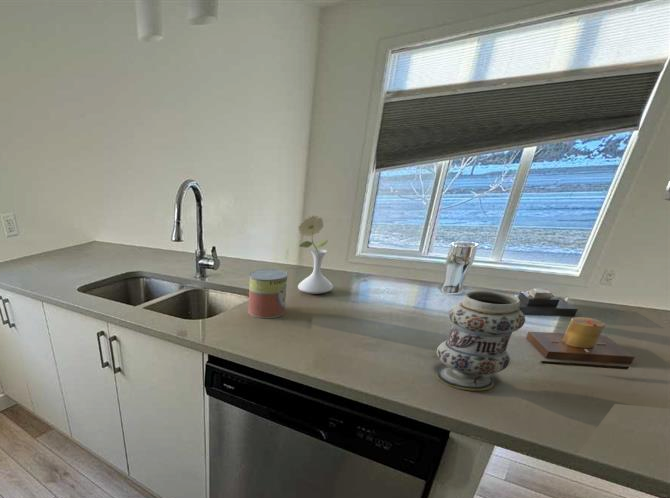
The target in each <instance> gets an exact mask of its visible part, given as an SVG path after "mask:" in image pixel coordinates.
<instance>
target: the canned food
mask: <svg viewBox="0 0 670 498" xmlns="http://www.w3.org/2000/svg"><path fill="white" fill-rule="evenodd" d="M288 276H289V274H288V272H287V271H285V270H281V269H275V268H274V269H271V268H270V269H269V268H267V269H266V268H265V269H259V270H255V271H252V272H250V273H249V283H248V284H249V285H248V286H249V288H248V292H249V293H248V311H247V312H248V315H250V316H252V317H253V318H258V319H275V318H279V317H282V316H283V315H285V313H286V298H287V287H288V284H287V283H288Z"/></svg>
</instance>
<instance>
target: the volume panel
mask: <svg viewBox="0 0 670 498" xmlns="http://www.w3.org/2000/svg"><path fill="white" fill-rule="evenodd" d="M564 335H565V332H546V331H543V332H541V331H528V332H527V334H526V336H525V339H526V340H527V341H528V342H529V343H530V345H532V346H533V348H534V349H535V350H536V351H538V352H539V354H541V356H542V357H543V358H544V359H547V360H540V362H541V364H543V365H557V366H570V367H585V368H600V369H613V370H615V369H616V370H629V369H630V366H625V365H632V363H633V361H634V360H635V358H636V357H635V356H634V354H632V353H630V352H629V351H628V350H626V349H625V348H623V347H622V346H621V345H620V344H618V343H617V342H616V341H614V340H612V339H611V338H610V337H608V335H605V334H600V336H599V338H598V340H597V342H596V344H595V346H594V347H591V348H580V347H574V346H570V345H567V344H565V343H564V342H562V339H563V337H564ZM550 360H552V361H550ZM553 360H561V361H553ZM566 361H575V362H566ZM581 362H590V363H581ZM595 363H597V364H595ZM598 363H605V364H598ZM606 363H608V364H606ZM609 364H619V365H609ZM620 364H621V365H620Z"/></svg>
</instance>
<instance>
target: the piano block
mask: <svg viewBox="0 0 670 498" xmlns="http://www.w3.org/2000/svg"><path fill="white" fill-rule="evenodd" d="M529 292H530V291H520V292H519V295H514V296H515V297H517V298H518V299H519V300H520V306H519V307H520V311H521V312H522V313H523V314H524V316H539V317H540V316H541V317H542V316H544V317H545V316H546V317H569V318H570V317H571V318H575V317H576V314H577V312H578V308H577V307H575V306H574V305H573V304H572V303H570V302H569V301H567V300H566V299H564V298H563V297H561V296H555V295H554V294H552V295H551V297H550V298H533V297H532V296H530V295H529Z"/></svg>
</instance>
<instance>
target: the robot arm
mask: <svg viewBox="0 0 670 498" xmlns="http://www.w3.org/2000/svg"><path fill="white" fill-rule="evenodd" d="M665 190H666V192H667V194H666V196H665V197H664V200H665V201H669V202H670V181H668V184H667V186H666V189H665Z"/></svg>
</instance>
